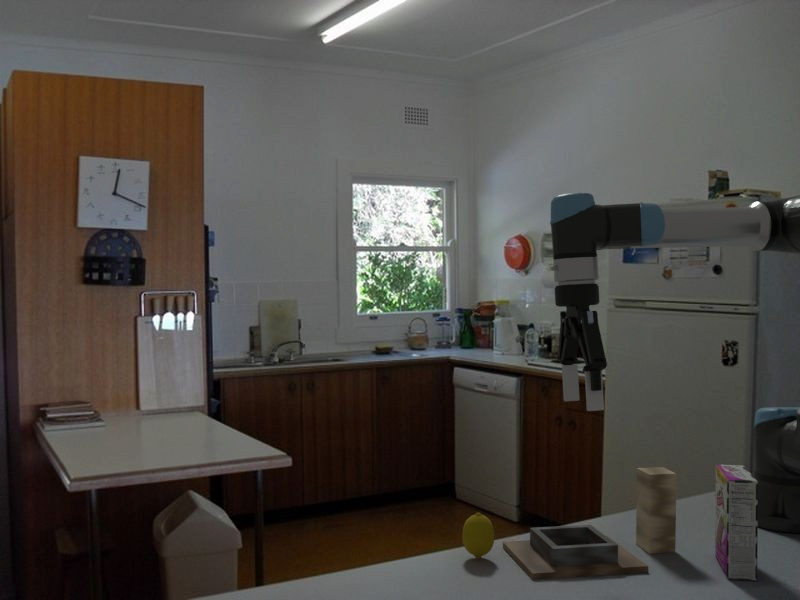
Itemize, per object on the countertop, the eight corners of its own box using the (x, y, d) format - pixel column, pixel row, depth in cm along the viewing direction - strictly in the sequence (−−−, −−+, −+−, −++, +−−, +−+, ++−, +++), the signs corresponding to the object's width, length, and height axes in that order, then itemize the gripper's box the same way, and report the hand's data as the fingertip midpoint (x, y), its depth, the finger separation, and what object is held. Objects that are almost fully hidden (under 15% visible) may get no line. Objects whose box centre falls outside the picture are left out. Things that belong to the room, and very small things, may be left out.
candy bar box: (712, 556, 142) (714, 463, 142) (743, 558, 141) (744, 464, 141) (725, 580, 131) (726, 478, 131) (758, 582, 130) (760, 480, 130)
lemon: (500, 558, 141) (500, 512, 141) (481, 566, 137) (481, 519, 137) (475, 551, 145) (475, 506, 144) (455, 558, 141) (455, 512, 140)
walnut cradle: (607, 541, 150) (607, 519, 150) (648, 572, 134) (648, 548, 134) (502, 547, 147) (503, 525, 147) (532, 579, 131) (532, 554, 131)
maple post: (661, 542, 149) (662, 467, 149) (675, 551, 144) (676, 473, 144) (636, 544, 149) (636, 468, 148) (649, 553, 144) (650, 474, 143)
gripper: (537, 286, 154) (543, 398, 154) (576, 282, 129) (583, 416, 129) (576, 284, 154) (582, 396, 154) (622, 279, 129) (629, 413, 129)
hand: (583, 405), depth 141 cm, fingers open, 13 cm apart
